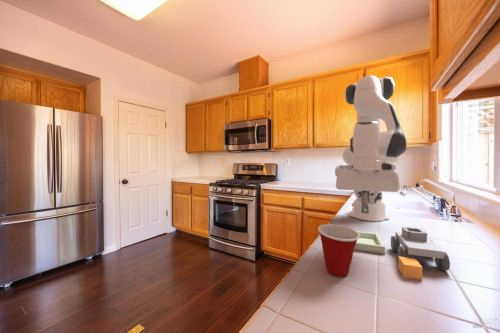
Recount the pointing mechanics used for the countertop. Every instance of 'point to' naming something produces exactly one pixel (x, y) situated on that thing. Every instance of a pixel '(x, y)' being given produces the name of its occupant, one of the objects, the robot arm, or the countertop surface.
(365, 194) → the pin
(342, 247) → the plastic cup
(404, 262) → the chock
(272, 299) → the countertop surface
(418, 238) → the cart
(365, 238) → the tray
